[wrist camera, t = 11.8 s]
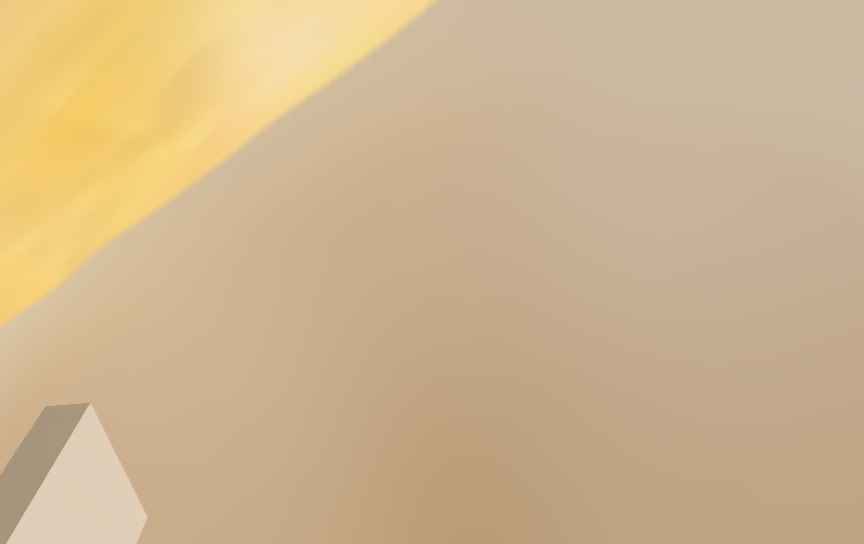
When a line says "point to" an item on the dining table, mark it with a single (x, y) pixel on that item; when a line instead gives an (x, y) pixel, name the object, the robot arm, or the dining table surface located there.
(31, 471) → the robot arm
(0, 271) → the dining table surface
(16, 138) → the dining table surface
